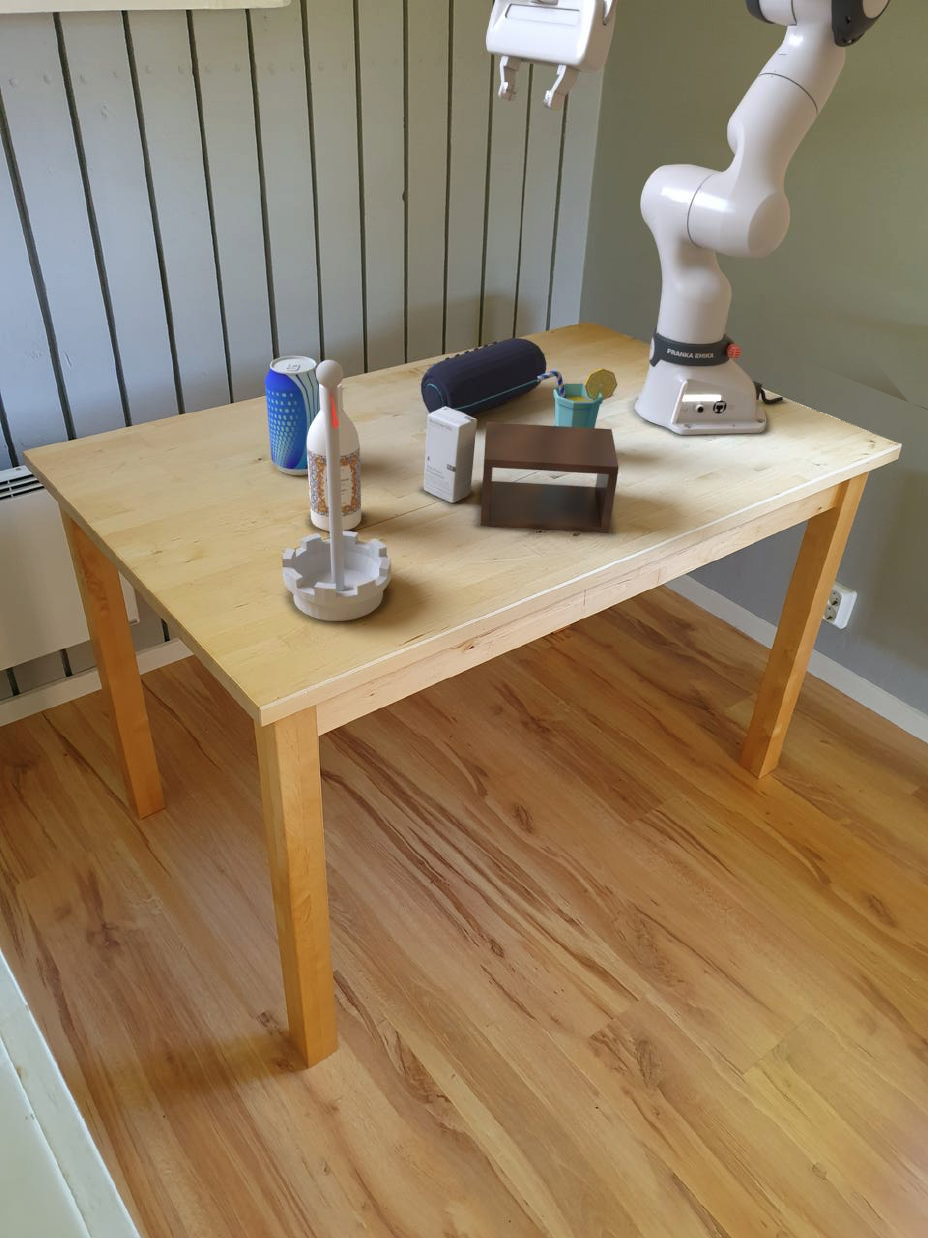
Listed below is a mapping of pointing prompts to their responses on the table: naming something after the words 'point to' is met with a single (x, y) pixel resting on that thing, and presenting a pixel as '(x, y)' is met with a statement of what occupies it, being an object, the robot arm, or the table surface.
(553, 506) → the shelf
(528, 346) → the portable speaker
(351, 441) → the bath foam
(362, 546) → the flag stand
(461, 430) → the cosmetic box
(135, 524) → the table surface
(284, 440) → the beer can
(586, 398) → the cup
